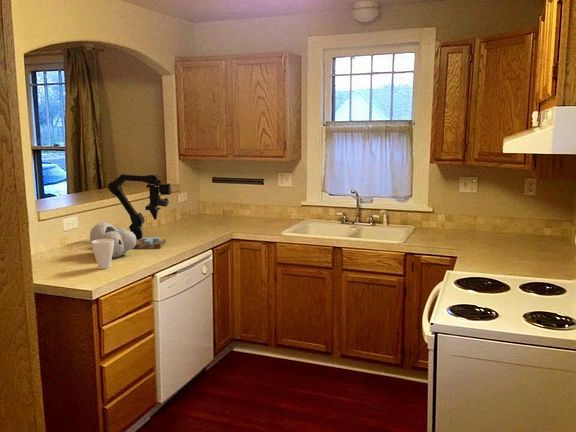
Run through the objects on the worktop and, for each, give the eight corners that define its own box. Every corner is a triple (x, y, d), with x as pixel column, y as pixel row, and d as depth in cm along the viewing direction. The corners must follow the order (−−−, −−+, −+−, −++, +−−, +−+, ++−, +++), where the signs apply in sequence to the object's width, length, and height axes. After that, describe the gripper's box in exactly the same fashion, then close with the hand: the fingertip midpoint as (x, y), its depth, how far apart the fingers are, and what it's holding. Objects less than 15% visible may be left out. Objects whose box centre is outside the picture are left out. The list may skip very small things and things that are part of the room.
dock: (134, 248, 301) (133, 244, 301) (141, 243, 316) (140, 239, 315) (160, 248, 301) (160, 244, 301) (166, 242, 316) (165, 238, 315)
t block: (138, 248, 303) (138, 241, 302) (143, 244, 313) (143, 237, 313) (156, 247, 303) (155, 241, 302) (160, 243, 313) (160, 237, 313)
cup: (107, 271, 254) (105, 243, 252) (88, 269, 257) (86, 242, 255) (119, 265, 264) (118, 239, 262) (101, 264, 267) (99, 238, 265)
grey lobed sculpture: (109, 249, 268) (112, 210, 276) (79, 261, 281) (83, 223, 290) (141, 258, 283) (143, 221, 292) (112, 269, 296) (114, 233, 305)
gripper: (162, 196, 316) (163, 222, 318) (171, 192, 334) (172, 217, 337) (144, 196, 317) (145, 222, 319) (154, 192, 335) (155, 217, 338)
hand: (155, 219), depth 328 cm, fingers closed
